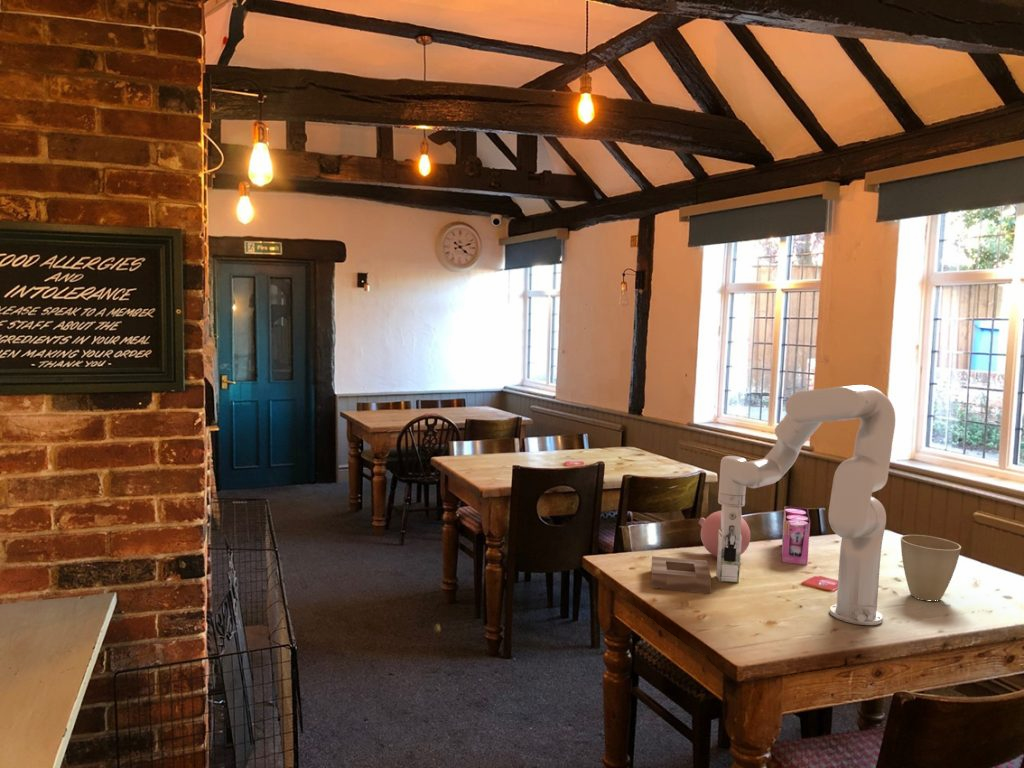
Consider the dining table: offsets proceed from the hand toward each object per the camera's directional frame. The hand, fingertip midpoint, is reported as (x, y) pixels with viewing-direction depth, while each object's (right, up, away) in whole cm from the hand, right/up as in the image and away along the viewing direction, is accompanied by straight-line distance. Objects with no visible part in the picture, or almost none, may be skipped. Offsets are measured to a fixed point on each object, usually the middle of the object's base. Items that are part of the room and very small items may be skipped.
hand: (727, 556), depth 225 cm
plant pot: (+53, -10, -10) cm, 55 cm away
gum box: (+30, -6, +29) cm, 42 cm away
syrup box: (0, -7, 0) cm, 7 cm away
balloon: (+4, -6, +24) cm, 25 cm away
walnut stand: (-15, -7, -3) cm, 17 cm away
